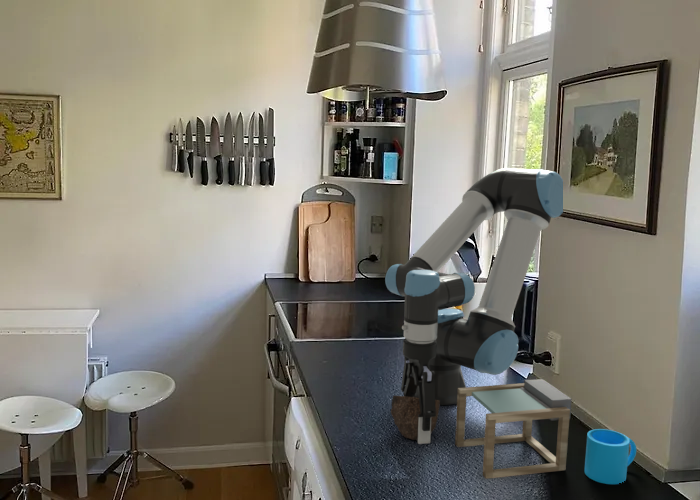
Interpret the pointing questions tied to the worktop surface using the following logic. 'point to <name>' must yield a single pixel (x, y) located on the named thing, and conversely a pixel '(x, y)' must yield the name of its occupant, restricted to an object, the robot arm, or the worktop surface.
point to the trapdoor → (524, 398)
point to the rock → (409, 415)
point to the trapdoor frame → (525, 416)
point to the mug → (608, 456)
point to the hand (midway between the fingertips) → (416, 433)
